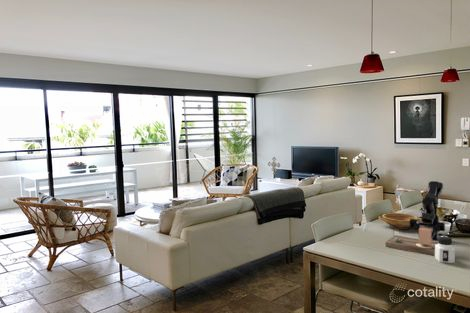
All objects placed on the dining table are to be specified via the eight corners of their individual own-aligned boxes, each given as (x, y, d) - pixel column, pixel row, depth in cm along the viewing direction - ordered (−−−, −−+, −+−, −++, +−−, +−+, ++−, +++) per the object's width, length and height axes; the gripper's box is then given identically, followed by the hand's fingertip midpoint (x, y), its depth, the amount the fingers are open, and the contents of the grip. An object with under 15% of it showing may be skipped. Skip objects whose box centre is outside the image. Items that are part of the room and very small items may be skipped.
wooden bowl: (379, 230, 263) (379, 219, 262) (377, 221, 286) (377, 211, 285) (425, 232, 254) (425, 221, 253) (419, 224, 277) (419, 213, 276)
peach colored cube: (420, 240, 221) (420, 226, 221) (432, 242, 218) (432, 228, 217) (418, 243, 216) (418, 229, 216) (430, 245, 213) (430, 230, 212)
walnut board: (394, 239, 240) (394, 231, 240) (442, 247, 222) (442, 239, 222) (385, 246, 226) (385, 238, 226) (436, 255, 208) (436, 246, 208)
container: (454, 263, 197) (455, 239, 196) (439, 262, 198) (439, 238, 197) (449, 258, 204) (450, 235, 203) (434, 257, 206) (435, 234, 205)
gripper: (410, 205, 224) (406, 227, 216) (445, 209, 213) (442, 232, 205) (412, 215, 231) (408, 237, 223) (446, 219, 220) (443, 242, 212)
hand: (425, 237), depth 216 cm, fingers closed on peach colored cube, 6 cm apart
